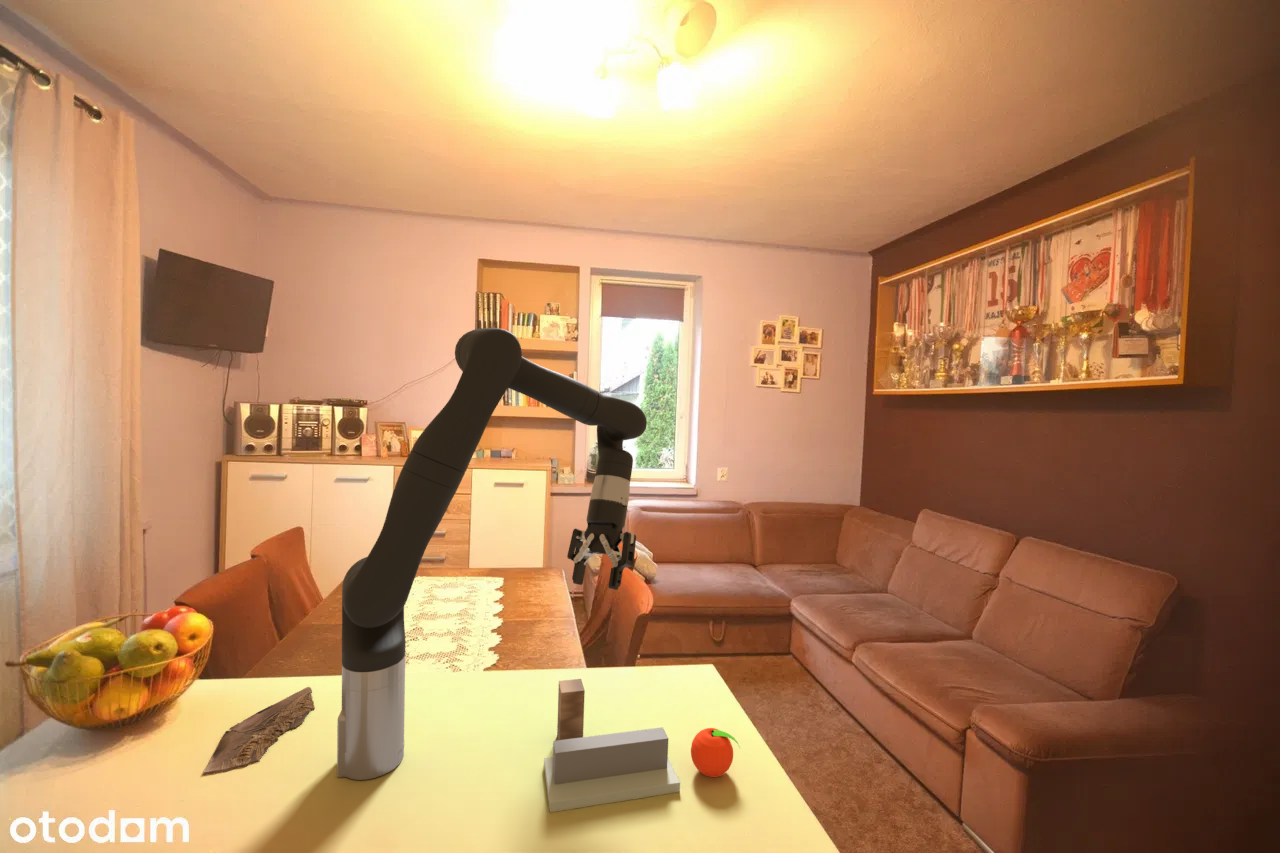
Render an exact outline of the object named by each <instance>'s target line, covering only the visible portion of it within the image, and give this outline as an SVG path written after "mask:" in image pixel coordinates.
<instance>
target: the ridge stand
mask: <svg viewBox="0 0 1280 853" xmlns="http://www.w3.org/2000/svg"><path fill="white" fill-rule="evenodd" d="M552 746H553V747H552V748H553V750H552V751H553V752H552V756H550V757H544V758H543V761H544V762H543V768H544V777H545V785H546V786H545V787H546V793H547V794H546V795H547V799H548V800H547V801H548V807H549V813H554V812H555V813H556V812H560V811H568V810H574V809H579V808H581V809H582V808H587V807H593V806H600V805H605V804H612V803H618V802H623V801H624V802H625V801H631V800H638V799H641V798H642V799H643V798H649V797H655V796H662V795H667V794H669V795H670V794H674V793H675V794H676V793H680V792H681V782H680V779H679V776H678V775H677V773H676V771H675V768H674V767H673V763H672V762H671V760H670V759H669V758H670V757H669V753H668V752H669V737H668V735H667V732H666V731H665V728H664V727H655V728H647V729H638V730H629V731H623V732H622V731H621V732H613V733H607V734H605V733H604V734H599V735H598V734H597V735H591V736H583V737H581V738H573V739H565V740H558V739H557V740H553V743H552Z"/></svg>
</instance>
